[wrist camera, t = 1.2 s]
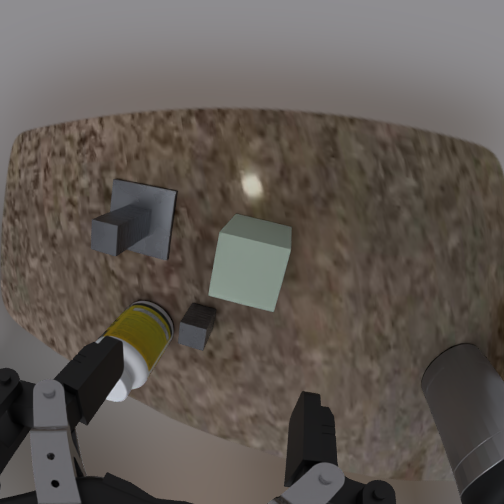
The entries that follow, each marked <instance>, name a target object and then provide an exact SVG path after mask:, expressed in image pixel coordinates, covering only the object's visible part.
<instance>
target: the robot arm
mask: <svg viewBox="0 0 504 504" xmlns="http://www.w3.org/2000/svg"><path fill="white" fill-rule="evenodd" d="M123 371H124V354H123V342H122V341H121V340H118V339H116V338H113V337H110V336H108V335H107V336H105V337H104V338H103V339H102V340H101V341H100V342H99V343H96V342H93V343H91V344H88V345H86V346H84V347H83V349H82V350H81V351H80V352H79V353H78V355H76V356H75V357H74V358H73V360H71V361H70V362H69V363H68V364H67V365H66V367H65V368H64V369H63V370H62V371H61V372H60V373H59V374H58V375H57V376H56V377H55V378H54V379H53V380H52V379H45V380H42V381H40V382H38V383H37V384H34V383H30V382H26V381H22V380H20V378H19V376H18V373H16V371H15V370H13V369H10V368H3V369H0V474H1V473H2V471H3V470H4V468H5V467H6V465H7V464H8V462H9V460H10V459H11V457H12V456H13V454H14V453H15V451H16V450H17V449H18V447H19V445H20V444H21V442H22V441H23V440H24V438H25V437H26V435H27V434H28V433H29V431H30V441H31V454H32V464H33V473H34V480H35V487H36V491H32V492H28V493H24V494H20V495H16V496H12V497H7V498H2V499H0V504H192V503H189V502H185V501H174V500H165V499H158V498H154V497H153V496H151V495H149V494H148V493H146V492H145V491H143V490H141V489H140V488H138V487H137V486H135V485H134V484H132V483H131V482H128V481H126V480H123V479H121V478H119V477H116V476H114V475H112V474H110V473H106V475H105V477H98V476H87V474H86V471H85V468H84V465H83V462H82V457H81V452H80V447H79V442H78V437H77V431H76V425H77V424H78V422H81V423H83V424H85V425H88V424H89V422H90V421H91V419H92V418H93V416H94V415H95V414H96V412H97V411H98V409H99V408H100V406H101V405H102V404H103V402H104V401H105V399H106V398H107V396H108V395H109V394H110V392H111V391H112V389H113V388H114V386H115V385H116V384H117V382H118V381H119V379H120V378H121V376H122V374H123ZM422 390H423V393H424V395H425V398H426V400H427V403H428V405H429V408H430V410H431V413H432V416H433V418H434V421H435V423H436V426H437V429H438V431H439V434H440V437H441V440H442V442H443V445H444V448H445V451H446V454H447V457H448V460H449V463H450V466H451V469H452V472H453V475H454V478H455V481H456V484H457V488H458V491H459V495H460V498H461V502H462V504H504V382H503V380H502V379H501V377H500V376H499V374H498V373H497V371H496V370H495V369H494V367H493V366H492V364H491V363H490V361H489V360H488V359H487V357H484V355H483V354H482V353H481V351H480V350H479V349H478V348H477V347H476V346H474V345H471V344H462V345H458V346H455V347H453V348H451V349H449V350H447V351H445V352H444V353H442V354H441V355H440V356H439V357H437V358H436V359H435V360H434V361H433V362H432V363H431V365H430V366H429V367H428V369H427V370H426V372H425V374H424V376H423V379H422ZM284 486H285V487H290V488H289V489H288V490H287V491H285V492H284V493H283V494H282V495H280V496H279V497H276V498H274V499H273V500H271V501H270V502H269V503H267V504H396V499H395V491H394V489H393V487H392V486H391V485H390V484H388V483H387V482H385V481H381V480H374V481H371V482H369V483H368V484H362V483H359V482H356V481H353V480H351V479H349V478H347V477H345V476H344V474H343V472H342V470H341V469H340V468H339V467H338V463H337V449H336V436H335V422H334V416H333V414H332V412H331V410H330V409H329V407H323V406H321V400H320V394H317V393H311V392H305V391H302V393H301V395H300V397H299V399H298V401H297V403H296V406H295V408H294V410H293V412H292V415H291V418H290V422H289V432H288V445H287V458H286V471H285V482H284ZM0 487H1V484H0Z"/></svg>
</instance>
